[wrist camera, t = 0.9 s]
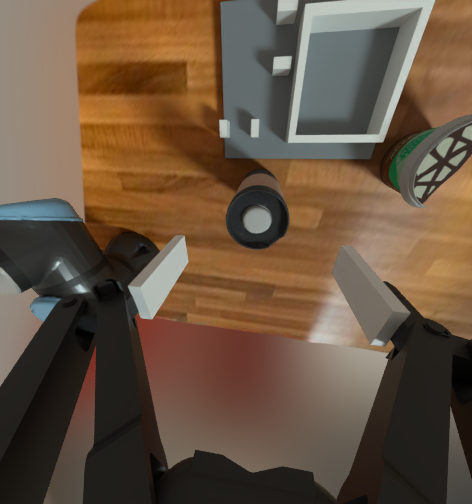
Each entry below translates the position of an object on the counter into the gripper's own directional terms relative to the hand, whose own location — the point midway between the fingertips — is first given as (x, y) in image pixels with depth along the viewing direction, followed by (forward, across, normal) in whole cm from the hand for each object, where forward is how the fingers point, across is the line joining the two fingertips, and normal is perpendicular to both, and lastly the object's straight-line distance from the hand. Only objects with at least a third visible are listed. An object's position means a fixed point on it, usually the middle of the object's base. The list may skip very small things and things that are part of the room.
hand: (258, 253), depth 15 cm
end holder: (+25, +11, +15) cm, 31 cm away
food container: (+26, +24, +6) cm, 36 cm away
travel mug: (+27, 0, 0) cm, 27 cm away
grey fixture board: (+26, +6, +15) cm, 31 cm away
